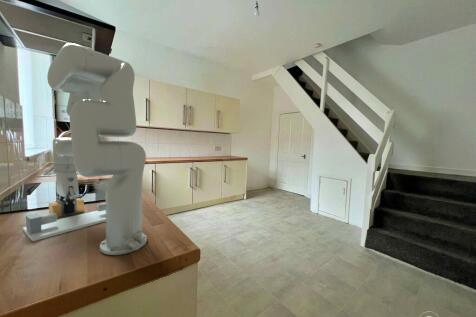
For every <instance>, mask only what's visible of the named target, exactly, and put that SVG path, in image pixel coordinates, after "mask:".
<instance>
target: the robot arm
mask: <svg viewBox="0 0 476 317" xmlns="http://www.w3.org/2000/svg"><path fill="white" fill-rule="evenodd" d="M46 78H47V84H48V85H49V87H50V88H51V89H52V90H54V91H57V92H60V93H61V92H62V93H68V94H69V97H68V101H67V106H66V110H65V111H66V114H67V115H68V116H69V129H70V137H55V138H53V140H52V158H53V159H52V161H53V162H52V163H53V164H52V166H53V167H52V168H53V173H54V174H55V175H56V176H55V178H56V180H55V186H56V188H55V189H56V193H57V194H58V196H59V197H58V199H63V198H65V204H64V214H70V213H74V212H75V204H74V203H75V201H74V200H75V199H76V197H77V196H79V194H80V191H79V190H80V189H79V180H78V175H80V176H82V177H84V178H85V177H86V178H97V177H106V176H107V177H108V176H112V177H111V178H110V179H109V181H108V182H107V185H106V188H105V203H106V221H105V239H103V240H102V241H101V242H100V244H99V251H100V252H101V253H103V254H104V255H108V256H109V255H110V256H118V255H119V256H120V255H126V254H129V253H133V252H135V251H138V250H140V248H143V247H144V246H145V245H146V243H147V242H148V237H147V235H146V234H145V233H144V232H143V230H142V229H143V228H142V227H143V226H142V218H143V215H142V214H143V213H142V212H143V209H142V208H143V207H142V206H143V201H142V200H143V197H142V196H143V195H142V194H143V177H144V170H145V165H146V160H147V156H146V155H147V154H146V151H145V149H144V147H143V146H142V145H141V144H138V143H136V142H133V141H126V140H125V141H121V140H120V141H119V140H104V137H105V138H106V137H108V138H127V137H128V138H129V137H132V136H134V135H135V133H136V131H137V117H136V115H137V114H136V108H135V107H136V106H135V98H134V85H135V84H134V83H135V70H134V68H133V66H132V65H131V64H130V63H129V62H127V61H124V60H122V59H120V58H116V57H113V56H111V55H108V54H105V53H102V52H99V51H96V50H93V49H91V48H88V47H85V46H82V45H80V44H77V43H71V42H70V43H69V42H68V43H65V44H64V45H63V46H62V47H61V48H60V49H59V51H58V53H57V54H56V55H55V56H54V58H53V60H52V61H51V63H50V65H49V67H48V71H47V76H46ZM77 173H78V174H77ZM67 198H69V199H68V201H67Z"/></svg>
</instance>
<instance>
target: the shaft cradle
mask: <svg viewBox="0 0 476 317" xmlns="http://www.w3.org/2000/svg"><path fill="white" fill-rule="evenodd" d="M25 222H26V223H25V224H26V226H24V227H22V231H23V232H24V234H26V235H27V237H28V238H29V239H30V240H31V242H36V241H39V240H42V239H48V238H50V237H54V236H58V235H61V234H64V233H65V234H66V233H68V232H71V231H76V230H80V229H83V228H86V227H89V226H94V225H98V224H101V223H104V222H105V223H106V202H103V203H97V204H96V210H93V211H90V212H83V213H80V214H76V215H72V216H67V217H62V218H57V214H56V213H52V214H49V213H48V214H43V215H40V214H38V212H37V213H31V214H26V215H25Z"/></svg>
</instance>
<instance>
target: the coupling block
mask: <svg viewBox="0 0 476 317" xmlns="http://www.w3.org/2000/svg"><path fill="white" fill-rule="evenodd" d="M68 199H69V198H67V201H68ZM74 201H75V203H74V204H75V212H74V213H70V214H64V204H65V198H63V199H59V198H57V199H56V201H53V202H48V214H52V213H56V214H57V219H59V218H61V217H62V218H63V217H66V216H67V217H68V216H69V215H74V214H76V215H77V214H79V213H80V214H81V213H85V207H84V206H85V204H84V203H85V201H84V199H82V198H80V197H78V198H76V197H75V200H74Z"/></svg>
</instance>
